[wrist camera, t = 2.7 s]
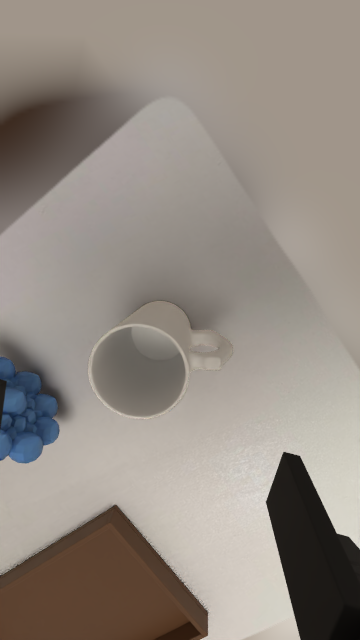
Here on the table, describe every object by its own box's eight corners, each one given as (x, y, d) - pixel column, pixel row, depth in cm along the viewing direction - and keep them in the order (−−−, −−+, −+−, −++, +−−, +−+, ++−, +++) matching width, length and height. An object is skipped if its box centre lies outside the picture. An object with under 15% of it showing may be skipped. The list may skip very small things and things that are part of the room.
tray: (116, 504, 38) (110, 522, 36) (207, 612, 40) (208, 635, 38) (-55, 610, 43) (-70, 631, 41) (35, 700, 46) (26, 726, 43)
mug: (130, 363, 35) (93, 420, 23) (125, 299, 33) (82, 325, 21) (227, 360, 34) (240, 418, 22) (225, 294, 32) (238, 319, 21)
